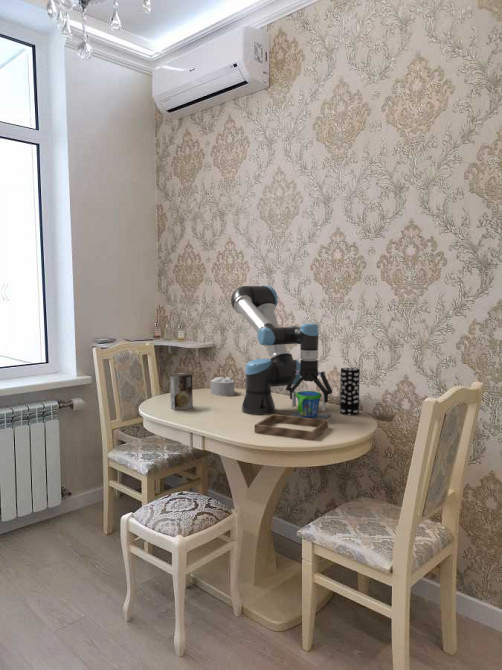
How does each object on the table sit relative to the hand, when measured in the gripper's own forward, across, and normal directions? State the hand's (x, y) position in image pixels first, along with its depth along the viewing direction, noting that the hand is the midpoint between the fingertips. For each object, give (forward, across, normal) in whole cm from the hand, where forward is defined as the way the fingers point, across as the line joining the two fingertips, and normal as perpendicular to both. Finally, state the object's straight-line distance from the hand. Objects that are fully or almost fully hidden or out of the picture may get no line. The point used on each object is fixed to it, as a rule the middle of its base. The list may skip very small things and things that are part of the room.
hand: (308, 408), depth 224 cm
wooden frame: (+4, 0, -21) cm, 21 cm away
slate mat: (+4, 0, 0) cm, 4 cm away
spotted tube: (+4, +14, +16) cm, 22 cm away
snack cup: (+4, 0, 0) cm, 4 cm away
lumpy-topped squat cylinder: (+4, -57, +30) cm, 65 cm away
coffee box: (+4, -60, -7) cm, 61 cm away
